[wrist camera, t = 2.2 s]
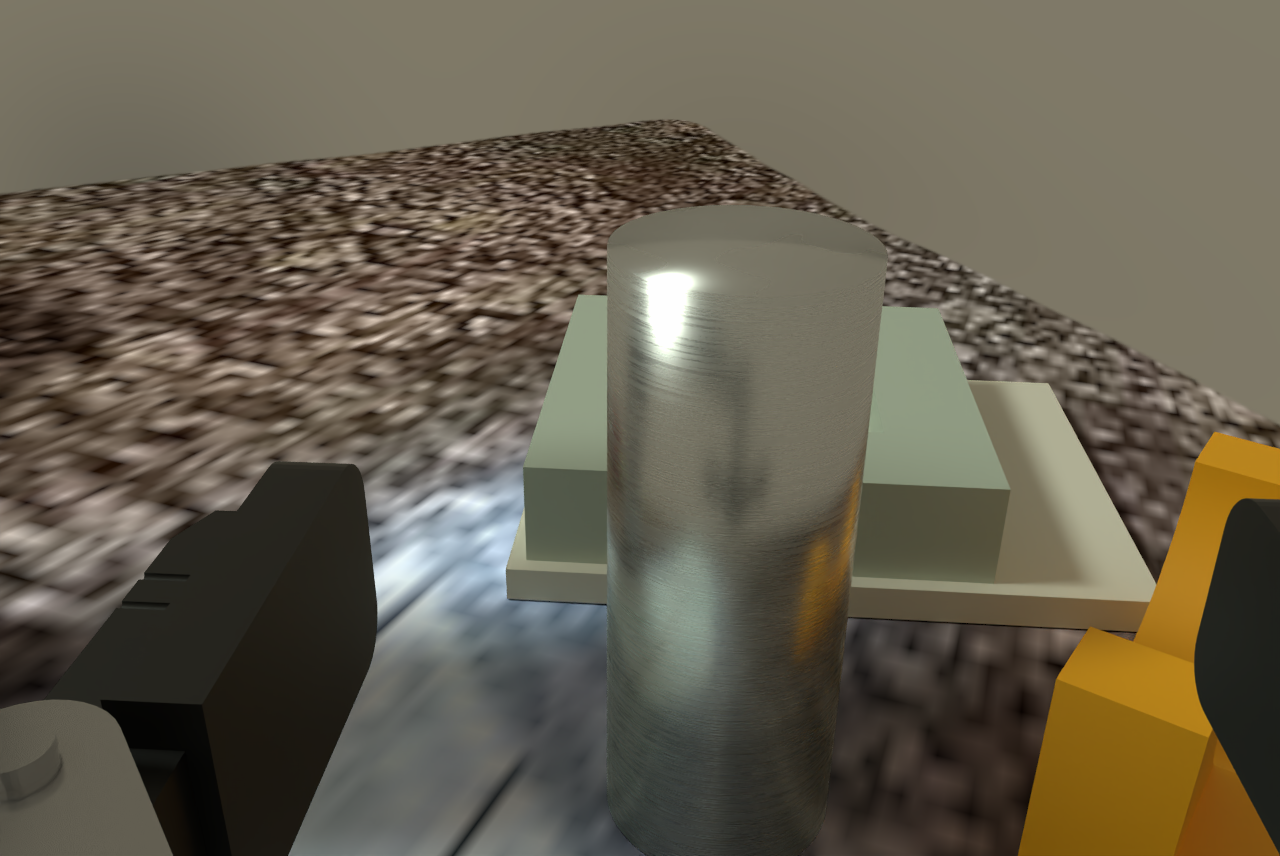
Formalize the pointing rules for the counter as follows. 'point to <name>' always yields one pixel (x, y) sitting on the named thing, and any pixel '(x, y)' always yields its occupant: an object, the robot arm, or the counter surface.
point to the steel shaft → (732, 518)
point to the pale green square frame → (879, 494)
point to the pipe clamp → (1152, 706)
